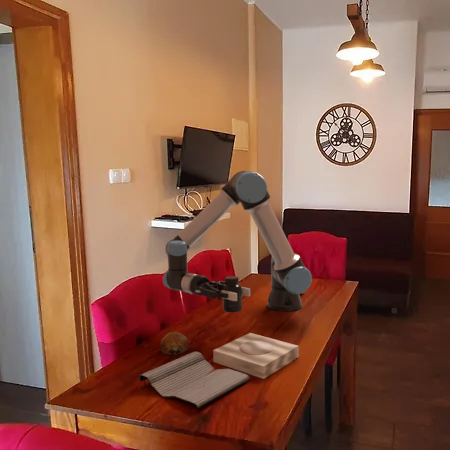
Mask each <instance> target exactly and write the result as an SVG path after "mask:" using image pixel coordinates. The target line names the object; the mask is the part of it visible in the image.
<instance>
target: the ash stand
mask: <svg viewBox="0 0 450 450" xmlns="http://www.w3.org/2000/svg"><path fill="white" fill-rule="evenodd" d="M299 347H300V345H296V344H293V343H290V342H285V341H281V340H279V339H274V338H271V337H267V336H262V335H260V334H255V333H252V332H248V333H247V334H245V335H242V336H240V337H239V338H238V337H237V338H236V339H233V340H232V341H230V342H228V343H225V344H224V345H222V346H219V347H218V348H215V349H213V350H212V351H213V352H212V354H213V355H212V356H213V359H212V360H213V363H214V364H215V363H216V364H219V365H222V366H225V367H228V368H229V369H232V370H235V371H238V372H241V373H244V374H247V375H250V376H253V377H256V378H260V379H264V380H265V379H266V378H267V377H270V376H271V375H272V374H274V373H276V372H278V371H279V370H280V369H282V368H284V367H285V366H287V365H289V364H290V363H292V362H294V361H296V360H297V359H298V358H299V356H300V355H299V352H300V351H299ZM296 358H297V359H296ZM293 360H294V361H293Z"/></svg>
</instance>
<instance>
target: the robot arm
mask: <svg viewBox="0 0 450 450" xmlns="http://www.w3.org/2000/svg"><path fill="white" fill-rule="evenodd" d="M219 191H220V192H219V194H217V196H215V197H214V198H213V200H211V201H210V203H209V204H207V206H205V207H204V208H203V209H202V211H200V213H198V214H197V215H196V216H195V217H194V218H193V219H192V220H191V221H190V222H189V223H188V224H187V225H186V226H185V227H184V228H183V229H182V230H181V231H180V232H179V233H178V234H177V235H175V237H174V238H173V239H170V240H169V241H167V243H166V245H165V253H166V255H167V263H168V264H167V265H168V269H167V270H166V271H165V272H164V273H163V276H162V283H163V286H164V287H166V288H168V289H170V290H174V291H177V292H178V291H179V292H184V293H189V295H192V294H193V295H195V296H200V297H207V298H210V299H213V300H216V299H217V301H221V300H222V299H223V298H224V299H228V300H232V301H237V293H234V292H229V291H225V290H223V286H224V285H225V284H226V283H225V281H223V280H217V281H213V280H210V279H209V278H208V277H207V276H206V275H201V274H196V273H190V272H188V251H189V249H191V247H192V246H193V245H195V243H196V242H198V241H199V240H200V238H201V237H202V236H204V235H205V234H206V233H207V232H208V231H209V230H210V229H211V228H212V227H213V226H214V225H215V224H216V223H217V222H218V221H219V220H220V219H221V218H222V217H223V216H224V215H225V214H226V213H227V212H229V210H230V209H232V208H233V207H237V206H238V204H240V205H241V206H242V208H243V210H244V211H245V212H249V214H250V216H251V218H252V219H253V221H254V223H255V225H256V228H257V229H258V231H259V234H260V236H261V237H262V240H263V241H264V243H265V245H266V247H267V249H268V251H269V253H270V255H271V260H270V274H271V275H270V278H271V279H270V281H271V285H270V287H271V289H270V292H269V296H268V298H267V302H266V303H267V304H266V305H267V308H269V309H270V310H273V311H278V312H292V311H293V312H294V311H297V310H300V309H301V308H302V306H303V305H302V303H303V301H302V299H301V295H300V294H303V293H305V292H306V291H308V289H309V288H310V287H311V285H312V281H313V276H312V274H311V271H310V270H309V268H307V267H306V265H305V264H304V263H303V260H302V258H301V256H300V255H299V254H297V253H294V250H293V248H292V246H291V243H290V242H289V239H288V238H287V237H286V234H285V232H284V230H283V228H282V226H281V224H280V222H279V220H278V218H277V216H276V214H275V212H274V210H273V208H272V205H271V204H270V201H271V195H270V193H269V191H268V185H267V181H266V179H265V178H264V177H263V176H262V175H261V174H260V173H258V172H256V171H251V170H241V171H238V172H236V173H235V174H233V176H231V178H230V179H229V180H228V181H227V182H226V183H225V184H224V185H223V187H222V188H220V190H219ZM241 291H242V296H246V297H250V296H251V288H249V287H244V286H241Z"/></svg>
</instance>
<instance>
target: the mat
mask: <svg viewBox="0 0 450 450" xmlns="http://www.w3.org/2000/svg"><path fill="white" fill-rule="evenodd" d="M138 379H139V382H143V381H144V383H143V384H144V386H146V380H148V382H149V385H150V386H151V387H153V389H154V390H155V391H156V392H157V393H158V394H159V395H160V396H162V397H163V398H167V399H168V398H176V399H179V400H181V401H183V402H187V403H189V404H193V405H195V407H196V408H198V409H200V408H202V406H204V405H207V404H208V403H211V402H212V401H214V400H216V399H218V398H219V397H221V396H222V395H224V394H226V393H229V392H230V391H232V390H234V389H236V388H237V387H239V386H241V385H242V384H245V383H248V382H249V381H250V380H251V377H250V375H249V374H247V373H245V372H242V371H238V370H235V369H232V368H222V369H221V368H218V369H215V367H214V366H212V365H211V363H210V362H208V361H207V360H206V359H205V358H204V356H203V355H202V353H201V352H199V351H192V352H190V353H187V354H185V355H183V356H181V357H179V358H177V359H174V360H172V361H170V362H167V363H165V364H162V365H159V366H158V367H155V368H152V369H151V370H148V371H146V372H143V373H141V374H139V377H138Z"/></svg>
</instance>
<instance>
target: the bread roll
mask: <svg viewBox="0 0 450 450" xmlns="http://www.w3.org/2000/svg"><path fill="white" fill-rule="evenodd" d="M189 344H190V343H189V340H188V337H187V336H185V335H184V334H183V333H180V332H177V331H171V332H168V333H167V334H166V335H164V336H163V338H161V341H160V345H159V346H160V352H161V353H162V354H164V355H167V354H168V355H169V356H177V355H178V356H179V355H180V354H183V353H185V352H187V351H188V349H189Z"/></svg>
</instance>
